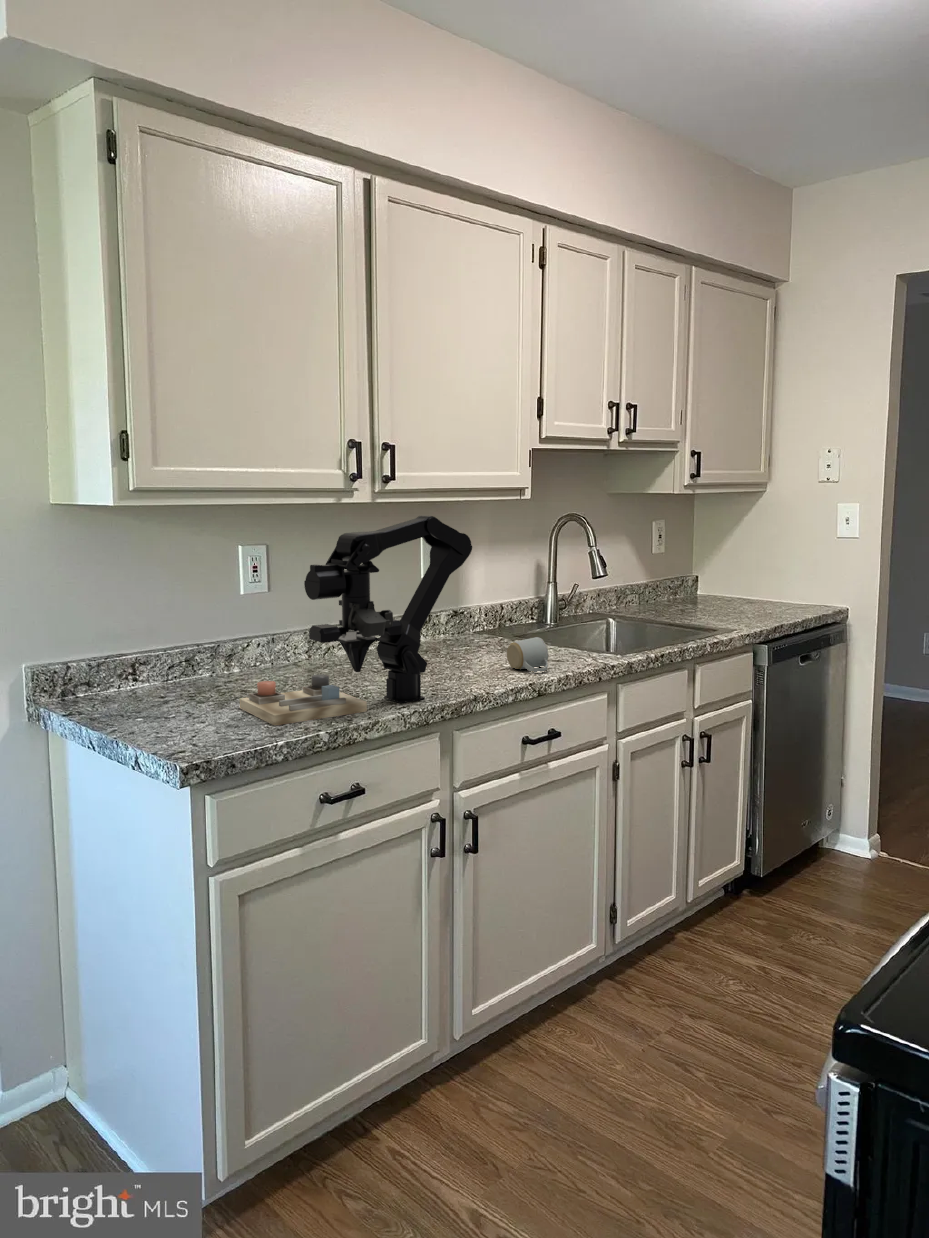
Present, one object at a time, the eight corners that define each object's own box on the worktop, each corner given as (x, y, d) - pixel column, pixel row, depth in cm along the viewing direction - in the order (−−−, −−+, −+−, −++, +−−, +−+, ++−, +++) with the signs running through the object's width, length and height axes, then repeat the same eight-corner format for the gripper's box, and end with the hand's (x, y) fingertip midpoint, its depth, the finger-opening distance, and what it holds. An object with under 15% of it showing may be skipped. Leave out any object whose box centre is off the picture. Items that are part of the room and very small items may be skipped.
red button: (271, 690, 197) (271, 680, 197) (278, 693, 194) (278, 683, 194) (254, 692, 195) (254, 682, 195) (262, 696, 192) (261, 685, 192)
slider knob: (332, 698, 196) (332, 684, 195) (339, 701, 193) (339, 687, 193) (321, 699, 194) (321, 686, 194) (328, 702, 192) (328, 688, 191)
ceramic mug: (504, 667, 240) (504, 637, 239) (531, 664, 244) (531, 634, 243) (528, 676, 231) (529, 644, 230) (556, 672, 235) (557, 641, 234)
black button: (324, 683, 204) (323, 673, 204) (332, 686, 201) (331, 676, 201) (308, 685, 202) (308, 675, 202) (316, 688, 199) (316, 678, 199)
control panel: (327, 695, 208) (327, 681, 207) (366, 711, 194) (366, 695, 194) (239, 708, 197) (239, 692, 196) (274, 725, 183) (274, 709, 182)
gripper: (333, 603, 182) (334, 684, 185) (416, 596, 193) (417, 672, 195) (306, 597, 191) (308, 674, 194) (388, 591, 202) (389, 664, 204)
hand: (357, 671), depth 196 cm, fingers closed
